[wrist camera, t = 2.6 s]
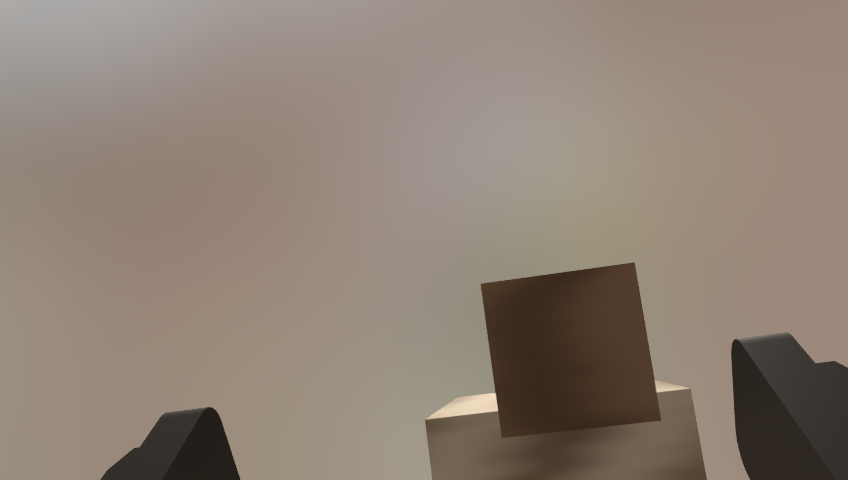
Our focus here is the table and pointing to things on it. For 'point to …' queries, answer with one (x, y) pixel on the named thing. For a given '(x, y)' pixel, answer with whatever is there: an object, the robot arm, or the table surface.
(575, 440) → the wooden block
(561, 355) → the bar
